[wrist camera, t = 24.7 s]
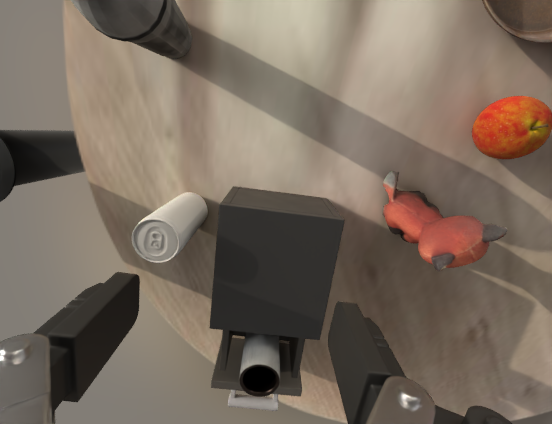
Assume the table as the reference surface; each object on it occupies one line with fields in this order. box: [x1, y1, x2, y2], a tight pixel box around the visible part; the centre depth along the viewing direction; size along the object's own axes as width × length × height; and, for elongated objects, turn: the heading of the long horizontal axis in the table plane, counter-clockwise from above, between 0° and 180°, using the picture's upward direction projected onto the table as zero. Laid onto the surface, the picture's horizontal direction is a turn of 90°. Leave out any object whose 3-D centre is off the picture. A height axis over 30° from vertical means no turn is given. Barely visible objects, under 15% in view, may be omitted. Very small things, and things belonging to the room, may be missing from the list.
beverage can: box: [132, 192, 208, 263], centre depth 32 cm, size 5×5×12 cm
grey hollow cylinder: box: [239, 332, 280, 397], centre depth 36 cm, size 4×4×10 cm
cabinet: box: [210, 186, 345, 340], centre depth 35 cm, size 15×13×10 cm
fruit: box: [472, 96, 552, 159], centre depth 32 cm, size 7×7×8 cm
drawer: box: [211, 330, 305, 411], centre depth 38 cm, size 19×12×8 cm, turn 172°
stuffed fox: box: [383, 171, 508, 271], centre depth 32 cm, size 8×11×12 cm
